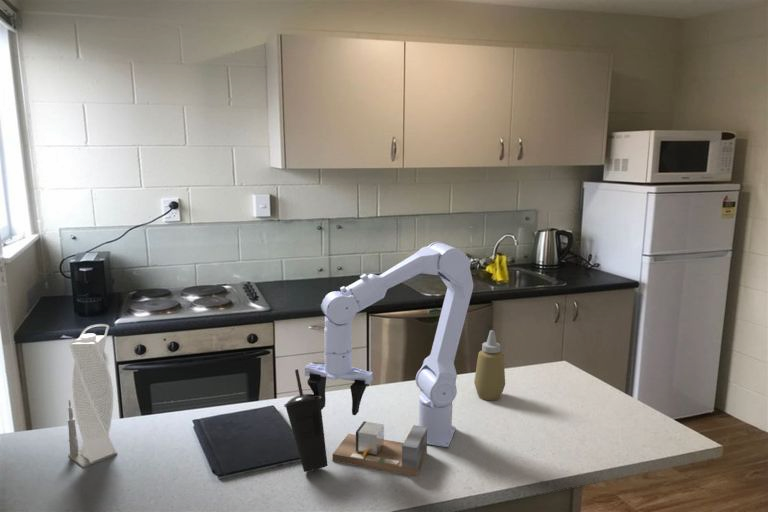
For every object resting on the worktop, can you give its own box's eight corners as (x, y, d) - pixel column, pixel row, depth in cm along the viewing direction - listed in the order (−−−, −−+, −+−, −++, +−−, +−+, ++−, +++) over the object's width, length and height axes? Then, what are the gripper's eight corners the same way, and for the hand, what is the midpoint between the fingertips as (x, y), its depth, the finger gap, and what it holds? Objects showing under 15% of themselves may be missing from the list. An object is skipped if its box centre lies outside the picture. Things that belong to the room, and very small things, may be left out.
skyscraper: (108, 440, 127) (97, 319, 122) (126, 453, 122) (116, 326, 117) (68, 456, 121) (55, 328, 116) (85, 469, 116) (73, 337, 111)
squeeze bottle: (481, 404, 147) (484, 337, 144) (468, 391, 155) (471, 327, 152) (510, 401, 149) (513, 334, 146) (496, 388, 157) (499, 325, 154)
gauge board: (348, 439, 129) (348, 414, 128) (426, 453, 124) (427, 427, 122) (332, 460, 120) (332, 434, 119) (416, 475, 115) (416, 448, 114)
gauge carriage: (363, 440, 125) (363, 421, 124) (383, 443, 124) (384, 424, 123) (352, 456, 118) (352, 436, 118) (373, 460, 117) (373, 440, 116)
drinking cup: (336, 462, 119) (316, 366, 124) (332, 465, 112) (312, 364, 117) (299, 471, 119) (281, 375, 124) (294, 475, 111) (275, 373, 116)
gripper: (297, 352, 118) (299, 413, 120) (365, 360, 114) (364, 424, 116) (312, 341, 125) (312, 400, 127) (375, 348, 120) (375, 409, 123)
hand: (338, 410), depth 122 cm, fingers open, 7 cm apart
